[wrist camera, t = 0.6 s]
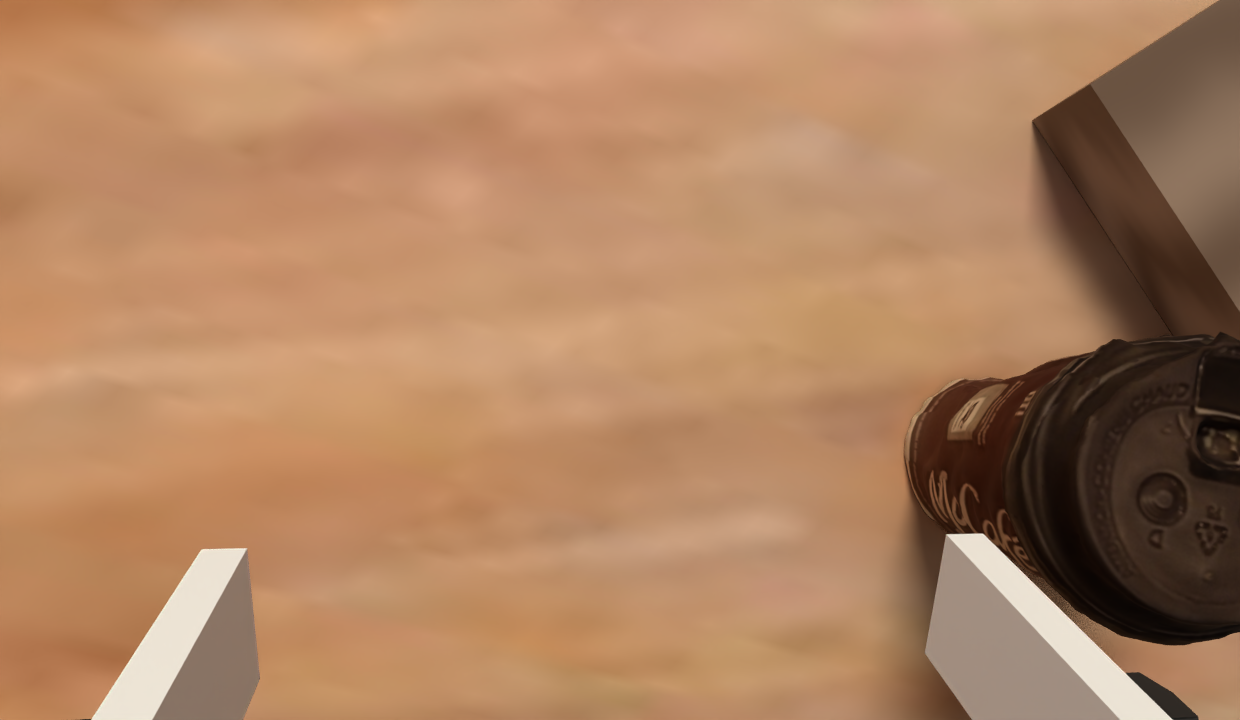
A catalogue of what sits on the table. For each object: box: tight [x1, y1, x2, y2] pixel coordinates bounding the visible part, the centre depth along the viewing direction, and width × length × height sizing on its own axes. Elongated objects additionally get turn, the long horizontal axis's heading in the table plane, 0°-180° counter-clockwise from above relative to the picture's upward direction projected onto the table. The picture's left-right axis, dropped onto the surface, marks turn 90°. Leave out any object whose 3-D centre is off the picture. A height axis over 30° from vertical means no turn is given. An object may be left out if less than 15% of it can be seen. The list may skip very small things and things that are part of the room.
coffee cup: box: [904, 332, 1240, 645], centre depth 28 cm, size 9×8×13 cm
